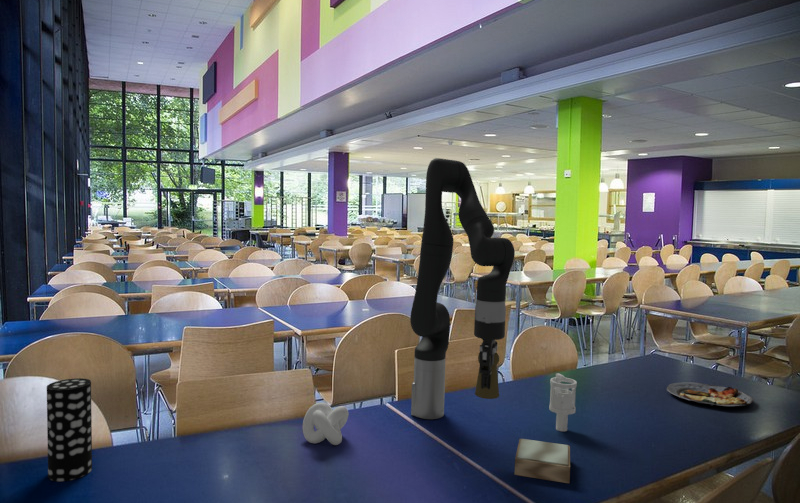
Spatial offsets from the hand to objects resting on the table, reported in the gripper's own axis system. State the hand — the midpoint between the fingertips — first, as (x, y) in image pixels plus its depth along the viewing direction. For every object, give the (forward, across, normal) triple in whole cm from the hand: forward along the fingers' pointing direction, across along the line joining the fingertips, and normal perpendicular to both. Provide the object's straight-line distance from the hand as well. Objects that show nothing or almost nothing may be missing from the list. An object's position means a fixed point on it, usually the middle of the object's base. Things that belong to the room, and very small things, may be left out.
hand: (487, 385), depth 133 cm
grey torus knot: (+18, +7, -40) cm, 44 cm away
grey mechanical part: (+17, -22, +18) cm, 33 cm away
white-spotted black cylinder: (+18, +44, -85) cm, 97 cm away
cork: (+2, 0, 0) cm, 2 cm away
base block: (+17, +4, +14) cm, 22 cm away
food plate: (+17, -68, +65) cm, 96 cm away
